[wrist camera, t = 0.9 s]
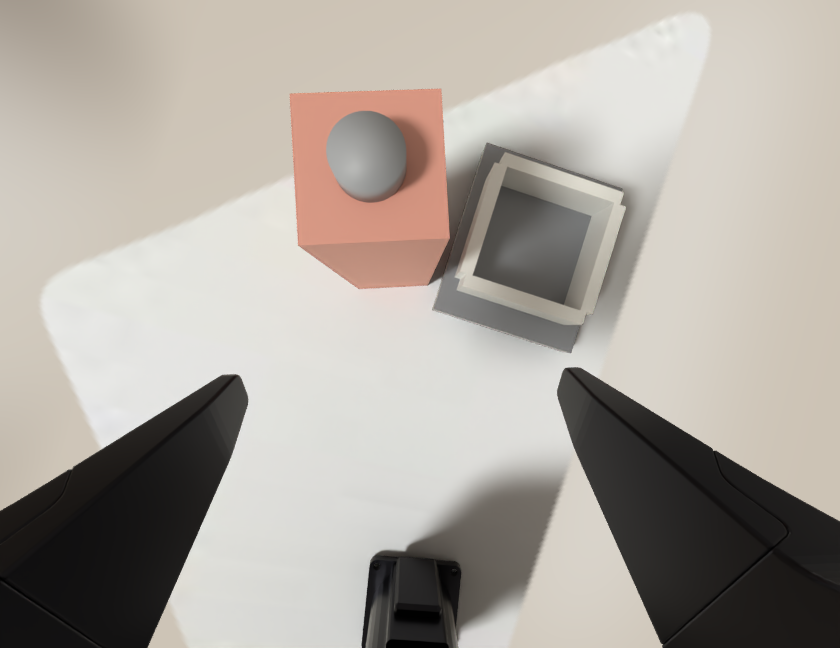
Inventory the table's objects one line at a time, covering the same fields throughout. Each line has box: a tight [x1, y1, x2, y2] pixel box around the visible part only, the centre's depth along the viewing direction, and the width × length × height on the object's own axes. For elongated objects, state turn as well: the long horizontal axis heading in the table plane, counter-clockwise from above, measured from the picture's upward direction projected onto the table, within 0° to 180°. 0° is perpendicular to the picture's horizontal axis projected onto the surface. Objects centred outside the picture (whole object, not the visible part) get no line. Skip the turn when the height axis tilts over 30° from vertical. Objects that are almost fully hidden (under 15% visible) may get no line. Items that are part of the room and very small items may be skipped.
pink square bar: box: [290, 89, 450, 289], centre depth 17 cm, size 5×5×14 cm
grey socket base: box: [432, 143, 626, 353], centre depth 22 cm, size 12×10×4 cm
